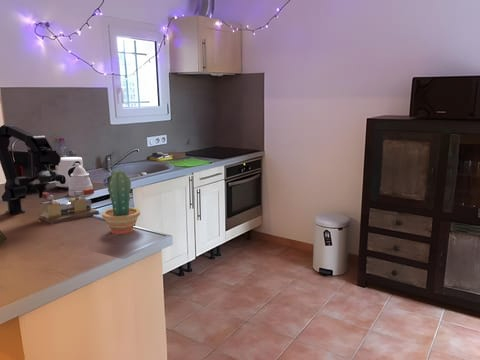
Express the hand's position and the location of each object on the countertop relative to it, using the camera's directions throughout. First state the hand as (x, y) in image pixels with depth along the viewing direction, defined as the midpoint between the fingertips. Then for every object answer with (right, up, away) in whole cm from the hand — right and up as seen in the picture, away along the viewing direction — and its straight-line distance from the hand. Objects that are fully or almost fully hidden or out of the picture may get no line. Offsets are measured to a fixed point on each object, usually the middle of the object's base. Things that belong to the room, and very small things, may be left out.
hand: (40, 197), depth 178 cm
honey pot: (-1, 0, +48) cm, 48 cm away
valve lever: (+4, 0, -1) cm, 4 cm away
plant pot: (+34, -9, +7) cm, 36 cm away
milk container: (-15, +3, +67) cm, 69 cm away
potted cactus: (+41, -13, -15) cm, 46 cm away
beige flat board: (+11, -9, +5) cm, 15 cm away
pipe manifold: (+12, -7, +5) cm, 14 cm away
